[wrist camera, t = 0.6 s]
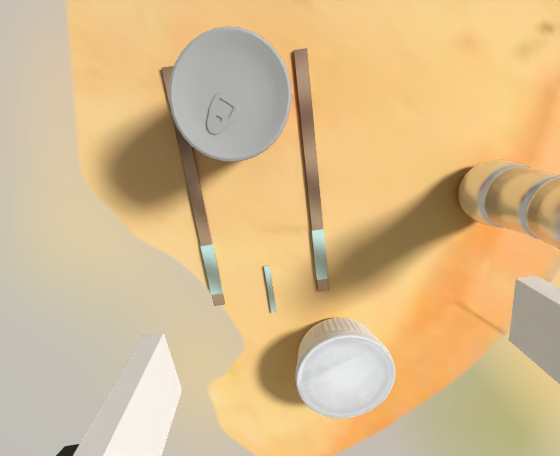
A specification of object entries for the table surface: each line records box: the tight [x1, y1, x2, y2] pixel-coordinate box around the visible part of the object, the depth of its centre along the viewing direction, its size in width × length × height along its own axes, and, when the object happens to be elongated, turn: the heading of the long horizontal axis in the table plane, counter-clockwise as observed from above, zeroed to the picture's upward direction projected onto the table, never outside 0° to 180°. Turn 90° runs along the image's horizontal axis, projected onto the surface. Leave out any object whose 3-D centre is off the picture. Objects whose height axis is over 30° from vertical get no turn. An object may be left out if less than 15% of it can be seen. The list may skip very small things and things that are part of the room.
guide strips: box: [162, 49, 329, 313], centre depth 32 cm, size 27×14×1 cm, turn 7°
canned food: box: [169, 27, 292, 162], centre depth 24 cm, size 8×8×11 cm
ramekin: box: [295, 318, 395, 418], centre depth 36 cm, size 11×11×5 cm
